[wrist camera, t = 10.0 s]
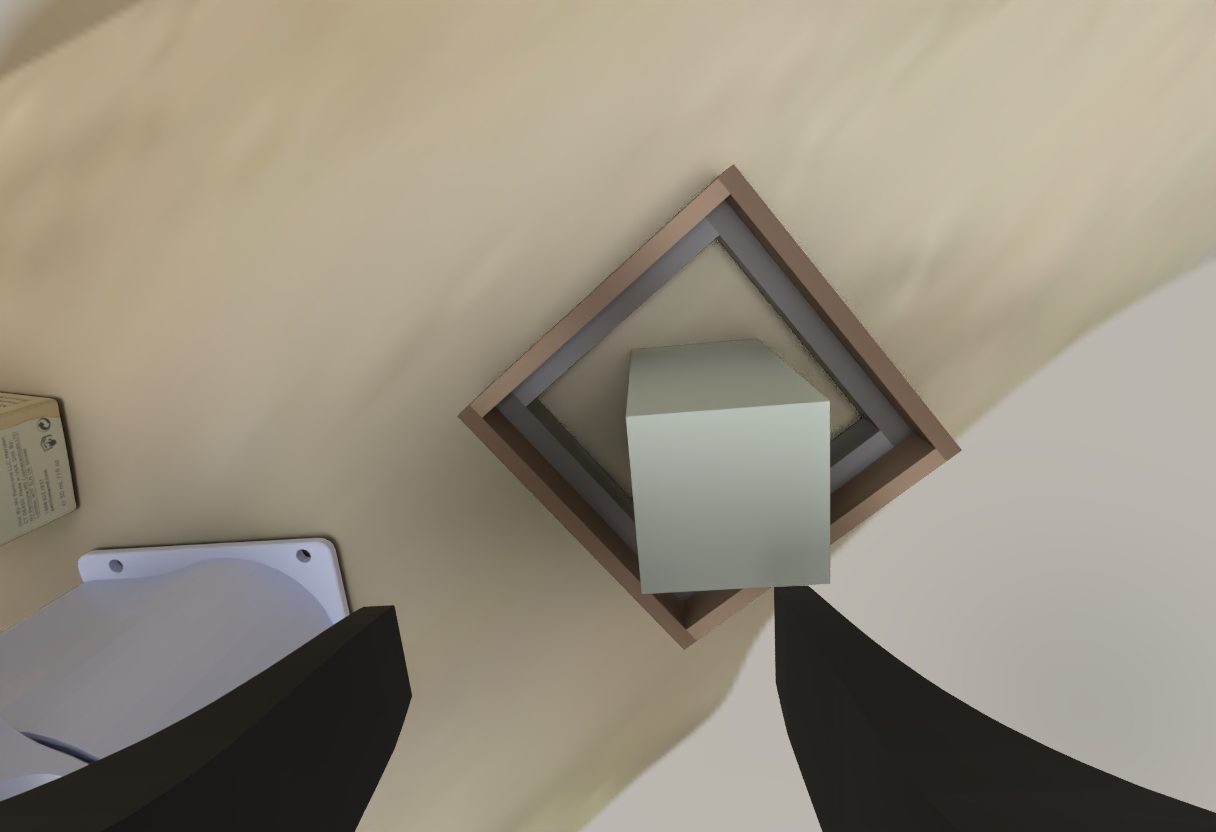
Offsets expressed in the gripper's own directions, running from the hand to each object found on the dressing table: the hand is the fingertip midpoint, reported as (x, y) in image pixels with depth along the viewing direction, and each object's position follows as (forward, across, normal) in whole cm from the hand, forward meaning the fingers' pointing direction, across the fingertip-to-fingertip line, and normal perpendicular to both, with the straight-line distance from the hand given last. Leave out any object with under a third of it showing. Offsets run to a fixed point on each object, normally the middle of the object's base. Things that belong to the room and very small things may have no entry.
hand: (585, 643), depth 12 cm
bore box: (+10, -3, -2) cm, 10 cm away
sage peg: (+10, -3, -2) cm, 10 cm away
